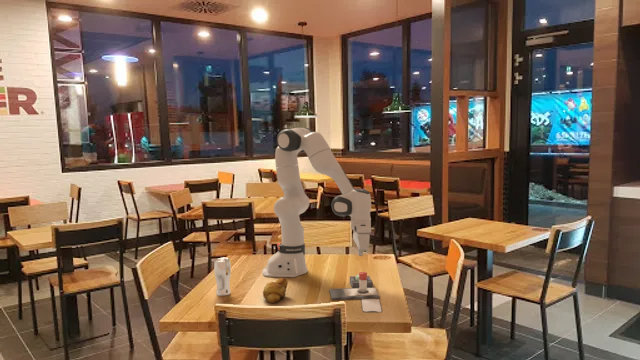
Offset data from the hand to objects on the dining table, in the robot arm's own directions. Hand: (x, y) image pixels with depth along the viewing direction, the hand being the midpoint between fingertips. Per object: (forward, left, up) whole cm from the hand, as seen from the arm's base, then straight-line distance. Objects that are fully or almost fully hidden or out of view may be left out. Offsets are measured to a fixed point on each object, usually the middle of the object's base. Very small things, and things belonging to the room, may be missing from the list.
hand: (360, 255), depth 204 cm
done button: (0, 0, -14) cm, 14 cm away
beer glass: (-61, -4, -14) cm, 62 cm away
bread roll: (-39, -13, -14) cm, 43 cm away
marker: (-1, -11, -13) cm, 17 cm away
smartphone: (+1, -23, -15) cm, 27 cm away
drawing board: (-5, -11, -14) cm, 19 cm away
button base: (0, 0, -14) cm, 14 cm away
